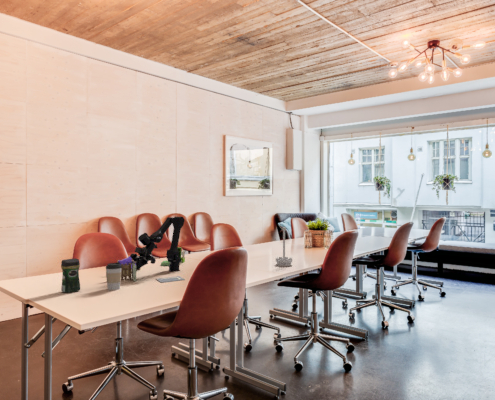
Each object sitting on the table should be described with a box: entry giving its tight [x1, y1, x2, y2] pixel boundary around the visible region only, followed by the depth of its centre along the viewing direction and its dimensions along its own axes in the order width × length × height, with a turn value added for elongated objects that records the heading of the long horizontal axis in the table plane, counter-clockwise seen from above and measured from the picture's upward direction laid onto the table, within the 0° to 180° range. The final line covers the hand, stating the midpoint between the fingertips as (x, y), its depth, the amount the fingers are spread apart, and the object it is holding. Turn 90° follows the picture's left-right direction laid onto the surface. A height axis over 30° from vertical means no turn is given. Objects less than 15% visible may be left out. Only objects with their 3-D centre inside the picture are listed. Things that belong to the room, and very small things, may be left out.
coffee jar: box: [60, 258, 81, 294], centre depth 220 cm, size 10×8×19 cm
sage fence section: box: [131, 263, 137, 282], centre depth 249 cm, size 12×2×10 cm, turn 21°
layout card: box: [155, 275, 185, 284], centre depth 251 cm, size 16×11×1 cm
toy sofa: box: [116, 255, 142, 274], centre depth 274 cm, size 21×9×10 cm, turn 171°
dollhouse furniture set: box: [160, 246, 186, 267], centre depth 310 cm, size 14×29×11 cm, turn 175°
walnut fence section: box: [121, 263, 132, 281], centre depth 250 cm, size 11×2×10 cm, turn 120°
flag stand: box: [275, 226, 293, 267], centre depth 303 cm, size 13×13×30 cm
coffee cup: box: [105, 261, 122, 291], centre depth 226 cm, size 9×9×15 cm
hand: (136, 269), depth 250 cm, fingers closed
